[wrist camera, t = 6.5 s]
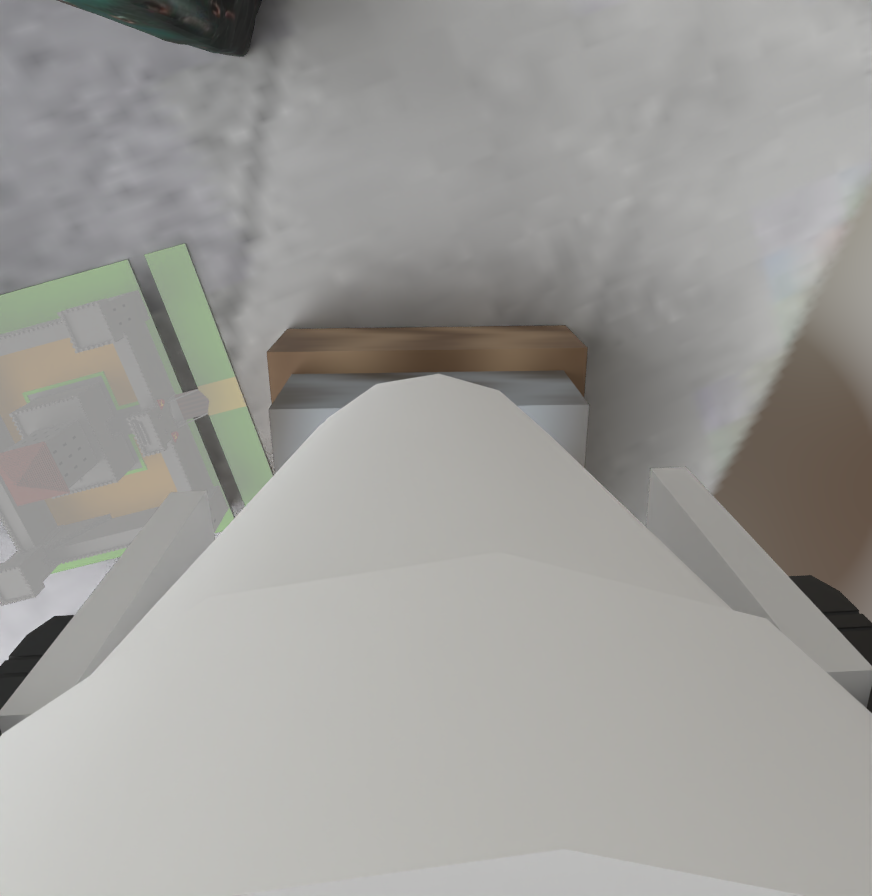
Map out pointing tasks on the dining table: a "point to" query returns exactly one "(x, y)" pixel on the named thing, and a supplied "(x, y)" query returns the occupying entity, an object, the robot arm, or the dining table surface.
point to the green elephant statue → (185, 20)
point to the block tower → (427, 353)
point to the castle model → (109, 416)
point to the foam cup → (441, 697)
